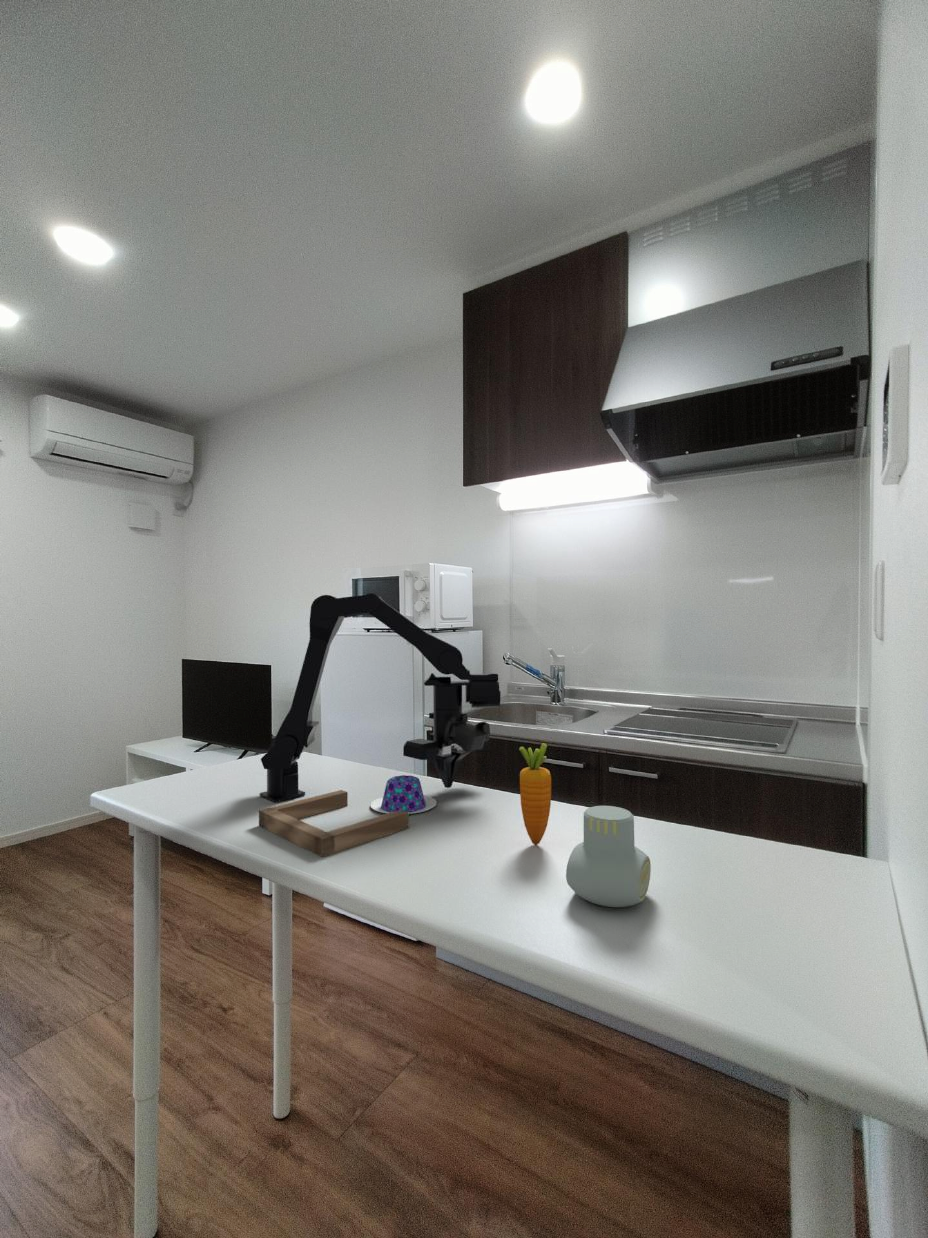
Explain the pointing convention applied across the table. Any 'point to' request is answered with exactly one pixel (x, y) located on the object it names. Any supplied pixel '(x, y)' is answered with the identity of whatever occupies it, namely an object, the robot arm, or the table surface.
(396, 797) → the pudding
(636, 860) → the air freshener
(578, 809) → the table surface
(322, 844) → the holder
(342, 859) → the table surface
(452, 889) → the table surface
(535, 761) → the carrot
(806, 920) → the table surface
